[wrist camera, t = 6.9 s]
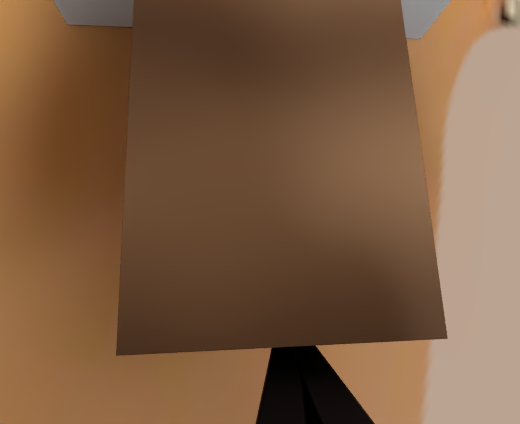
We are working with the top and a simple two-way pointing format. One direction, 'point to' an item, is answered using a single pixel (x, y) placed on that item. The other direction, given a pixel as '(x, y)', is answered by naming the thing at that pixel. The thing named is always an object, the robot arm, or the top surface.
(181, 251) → the walnut block
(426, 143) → the top surface
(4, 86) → the top surface
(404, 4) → the board
